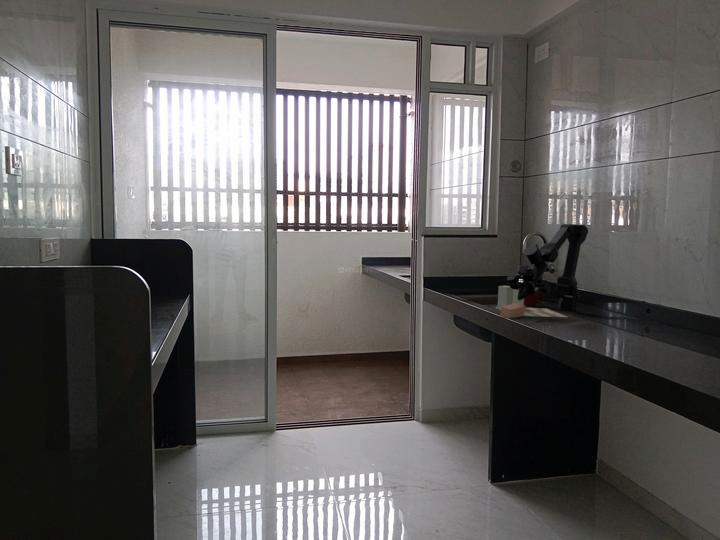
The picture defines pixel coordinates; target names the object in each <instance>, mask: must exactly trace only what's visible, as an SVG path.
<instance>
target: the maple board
mask: <svg viewBox="0 0 720 540" xmlns="http://www.w3.org/2000/svg"><path fill="white" fill-rule="evenodd" d="M497 307H498V306H494V308H496V309H497ZM498 310H500V311H501V309H498ZM523 317H547V318H548V317H549V318H550V317H552V318H553V317H554V318H568V316H567V315H564V314H562V313H559V312H556V311H554V310H552V309H549V308H545V307H544V308H543V307H541V308H540V307H525V313H524V316H523Z"/></svg>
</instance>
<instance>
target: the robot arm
mask: <svg viewBox="0 0 720 540" xmlns="http://www.w3.org/2000/svg"><path fill="white" fill-rule="evenodd" d="M588 233H589V228H588V227H587V226H586V224H571V223H563V224H561V225H560V227H559V229H558V230H557V231H556V233H555V234H554V236H553V237H552V238H551V240H550V241H549V242H548V243H547V244H544V245H543V246H541V247H540V248H539V246H538V243H532V245H529V246H528V247H526V248H525V249H523V254H524V256H525V258H526V260H527V262H528V263H529V264H530V265H529V266H528V265H518V268H517V270H516V271H517V272H516V273H517V274H519V275H520V278H518V276H515V275H509V276H507V278H506V280H505V281H506V282H507V284H508V286H510V288H511V289H516V290H518V289H519V292H518V298H517V299H518V300H522V299H524V298H526V297H528V296H530V295H532V294H536V290H537V289H538V288H539V289H542V290H541V292H542V293H543V294H544V295H545V294H546V295H549V294H550V292H551V291H552V288H551V285H550V284H549V282H548V280H546V279H543V275H544V273H545V272H547V273H548V272H550V268H549V265H548V263H551V264H553V263H555V262H556V260H557V259H558V256H559V250H560V249H561V248H562V246H563V244H564V243H565V242H566V241H567V242H568V246H567V252H566V253H567V254H566V259H565V263H564V267H563V268H564V269H563V273H562V274H561V276H560V277H559V276H558V277H557V279H556V280H557V281H556V284H555V292H556V297H557V298H559V300H558V310H560V311H572V312H573V311H574V312H575V311H576V309H577V300H580V299H581V293H580V290H579V289H578V281H577V278H576V271H577V267H578V261H579V256H580V251H581V246H582V244H583V243H584V242H585V241H586V239H587V236H588Z"/></svg>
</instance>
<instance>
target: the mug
mask: <svg viewBox="0 0 720 540" xmlns="http://www.w3.org/2000/svg"><path fill="white" fill-rule="evenodd" d="M540 295H541V300H539V301H538V299H539V296H540ZM544 301H545V294H544V293H542V291H540V288H538V289H537V290H536V294H532V295H530V296H528V297H526V298H524V304H523V305H525V307H535V306H536V305H537V304H541V303H543V302H544Z"/></svg>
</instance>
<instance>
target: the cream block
mask: <svg viewBox="0 0 720 540" xmlns="http://www.w3.org/2000/svg"><path fill="white" fill-rule="evenodd" d="M518 292H519V289H518V290H516V289H513V303H518V304H522V305H523V304H524V299H522V300H518V299H517V298H518Z"/></svg>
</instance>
